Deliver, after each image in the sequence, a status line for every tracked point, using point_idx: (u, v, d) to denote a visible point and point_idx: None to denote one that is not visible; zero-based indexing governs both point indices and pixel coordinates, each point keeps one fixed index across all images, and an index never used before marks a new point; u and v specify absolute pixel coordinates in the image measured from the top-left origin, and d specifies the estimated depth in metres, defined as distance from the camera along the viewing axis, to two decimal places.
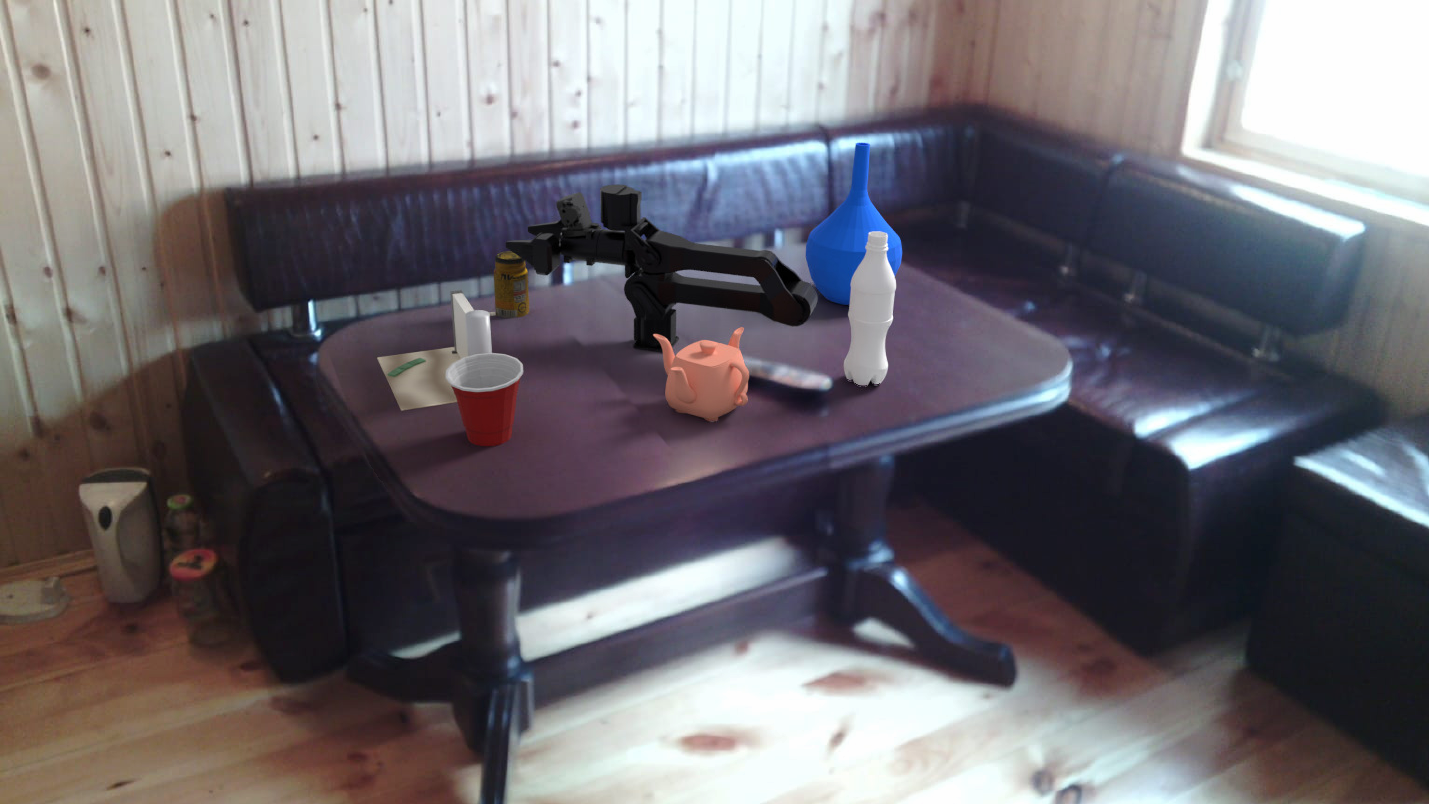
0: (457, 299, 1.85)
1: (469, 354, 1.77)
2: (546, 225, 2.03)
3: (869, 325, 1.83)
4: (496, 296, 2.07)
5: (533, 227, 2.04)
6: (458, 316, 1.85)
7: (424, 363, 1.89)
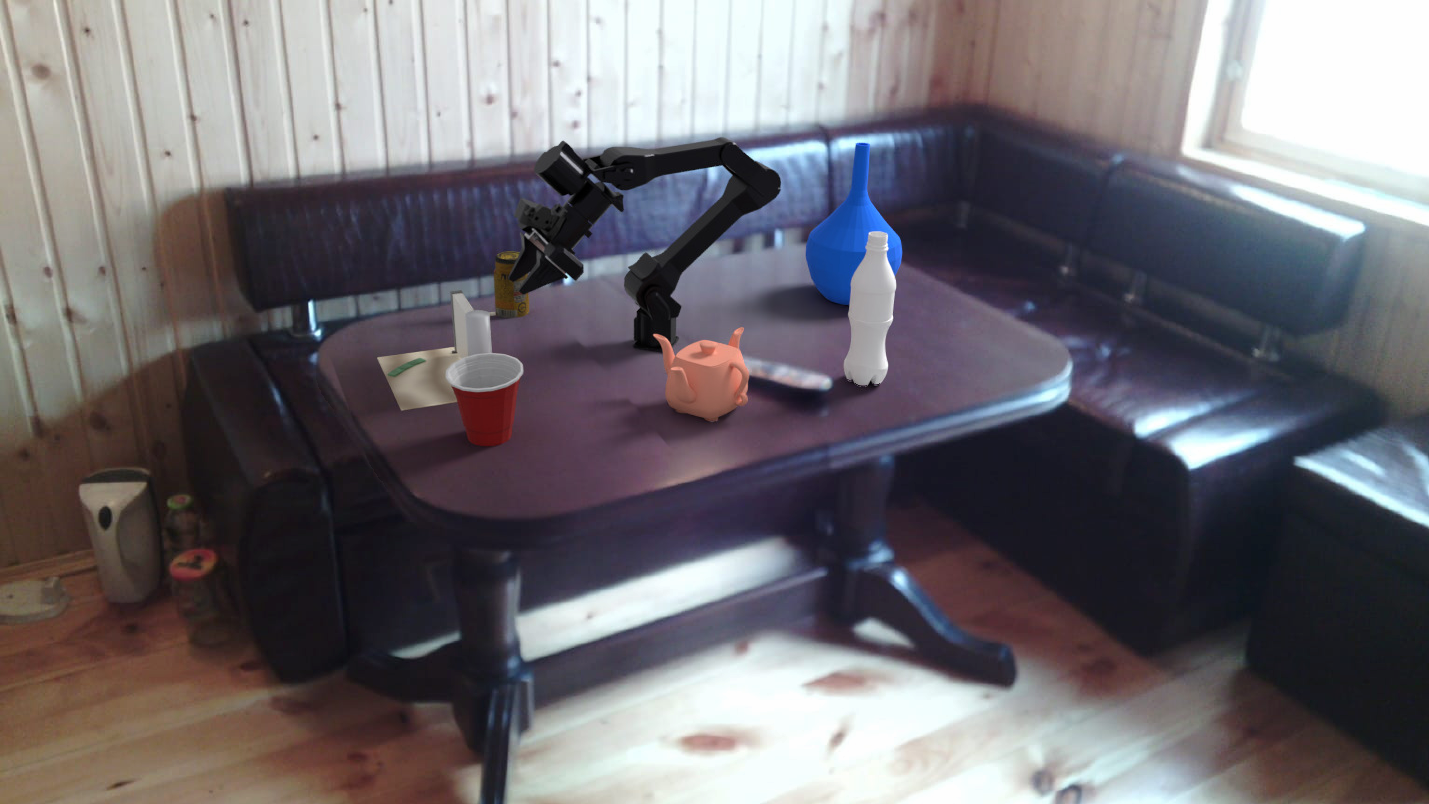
0: (457, 299, 1.85)
1: (469, 354, 1.77)
2: (520, 260, 1.89)
3: (869, 325, 1.83)
4: (496, 296, 2.07)
5: (512, 273, 1.89)
6: (458, 316, 1.85)
7: (424, 363, 1.89)
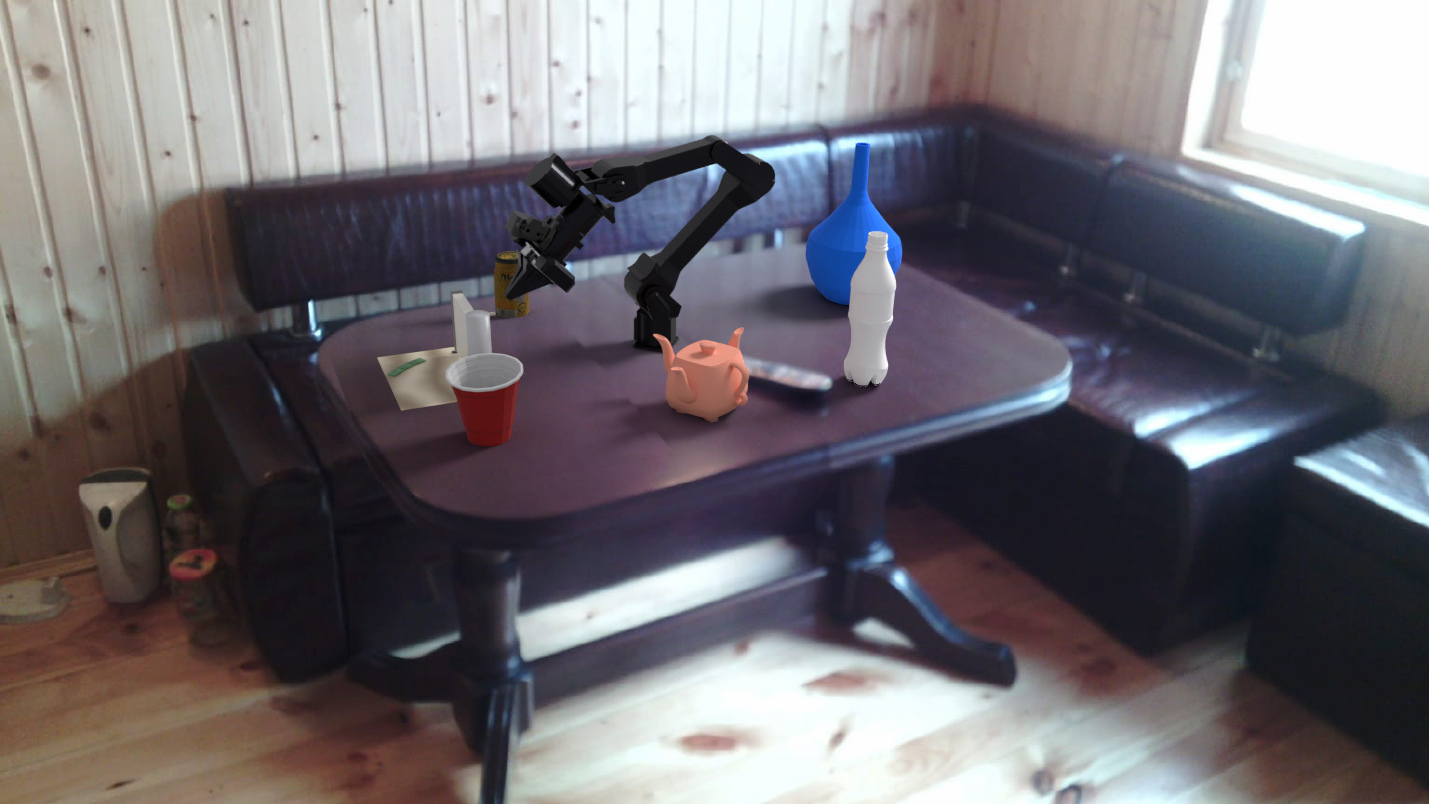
0: (457, 299, 1.85)
1: (469, 354, 1.77)
2: (516, 277, 1.87)
3: (869, 325, 1.83)
4: (496, 296, 2.07)
5: (508, 291, 1.87)
6: (458, 316, 1.85)
7: (424, 363, 1.89)
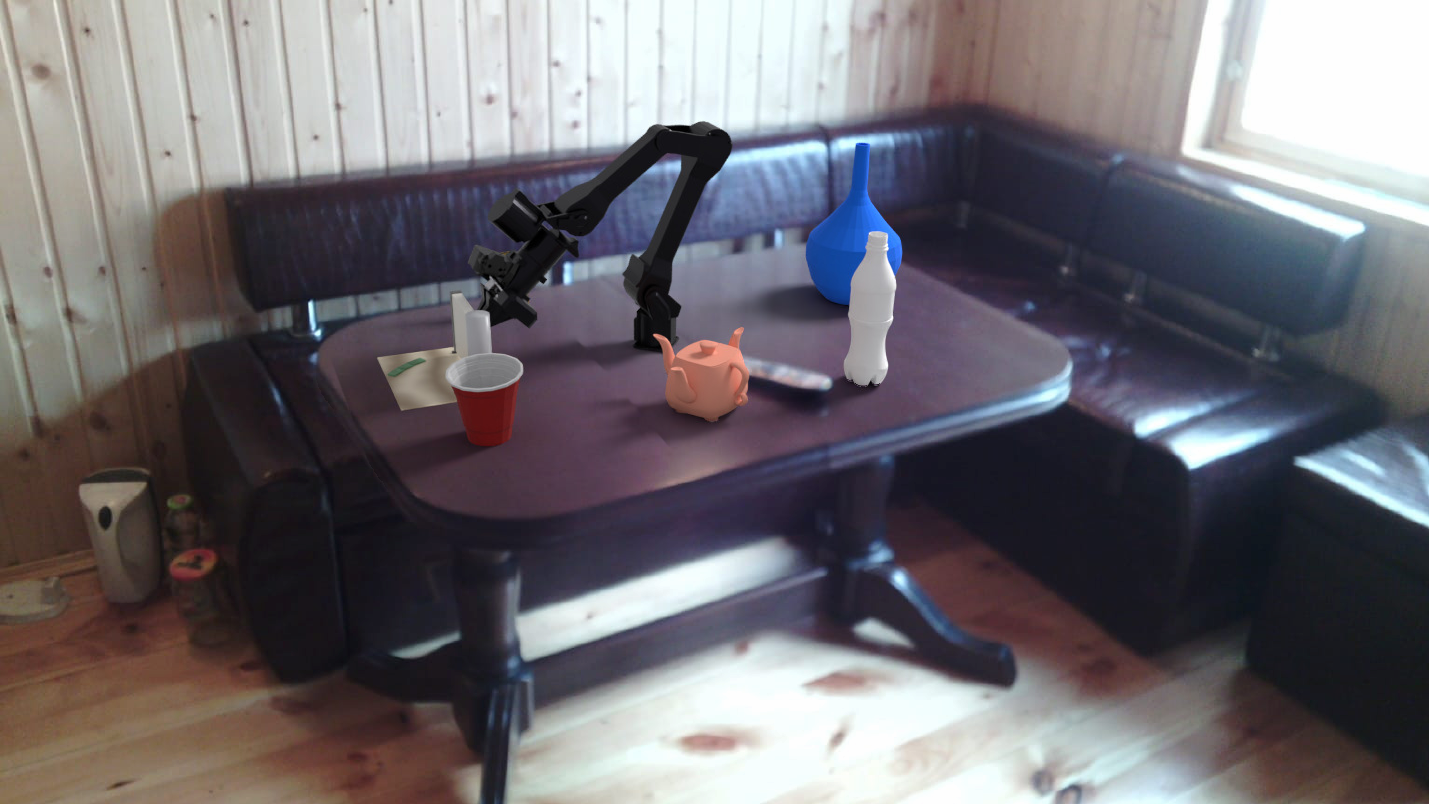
0: (456, 299, 1.85)
1: (469, 354, 1.77)
2: None
3: (869, 325, 1.83)
4: None
5: None
6: (457, 316, 1.85)
7: (424, 363, 1.89)
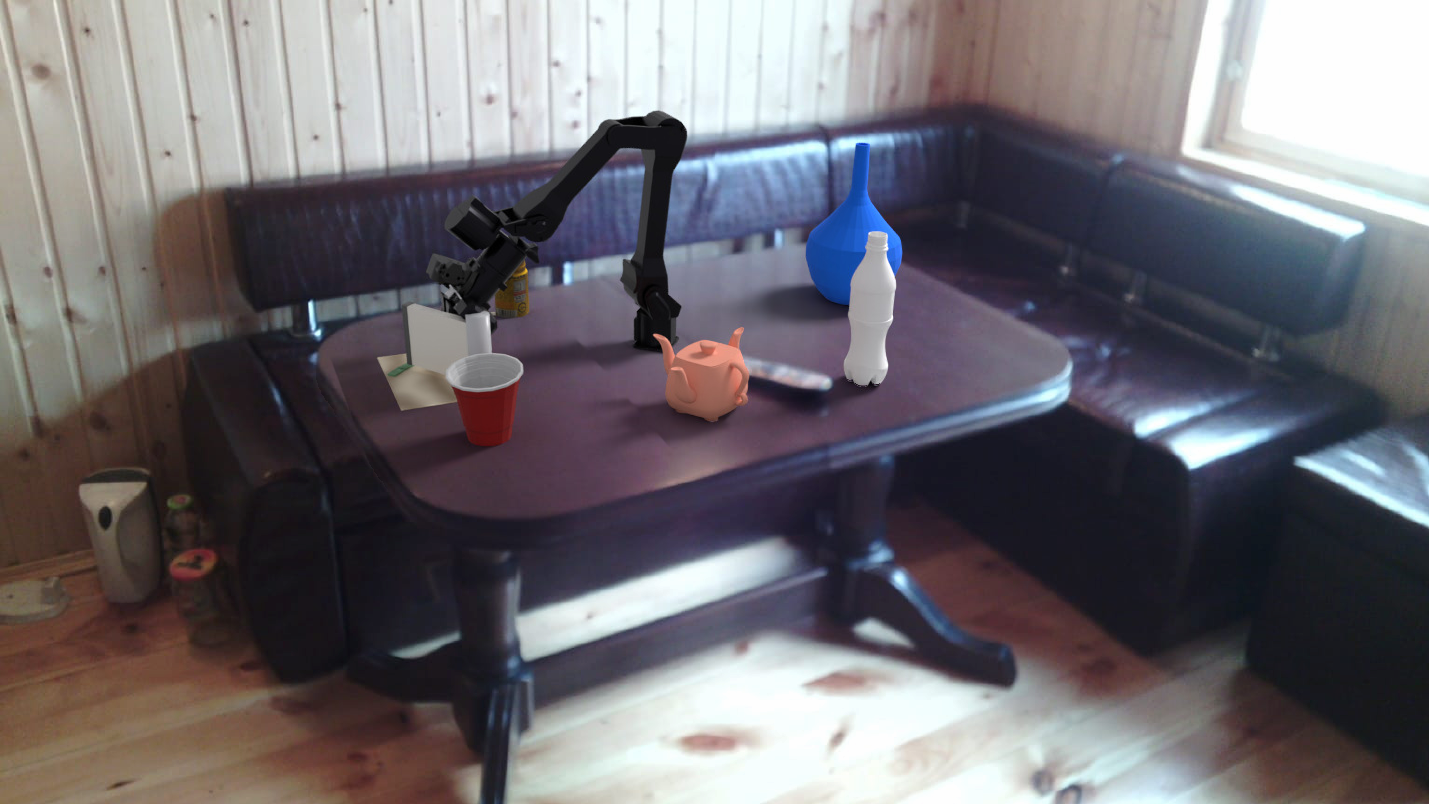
0: (420, 309, 1.81)
1: None
2: None
3: (869, 325, 1.83)
4: (496, 296, 2.07)
5: None
6: (425, 326, 1.81)
7: None
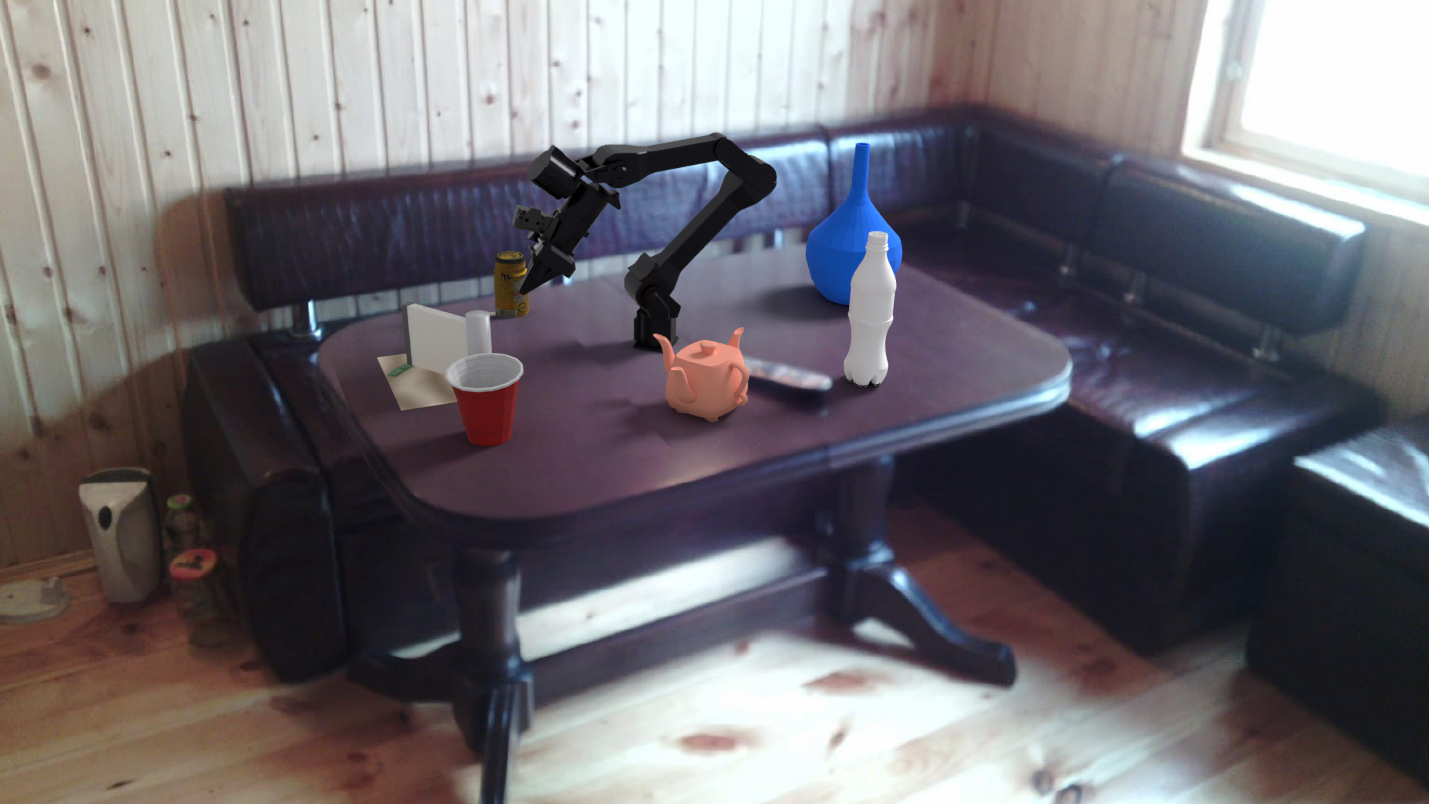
0: (420, 309, 1.81)
1: None
2: (528, 272, 1.88)
3: (869, 325, 1.83)
4: (496, 296, 2.07)
5: None
6: (425, 326, 1.81)
7: None
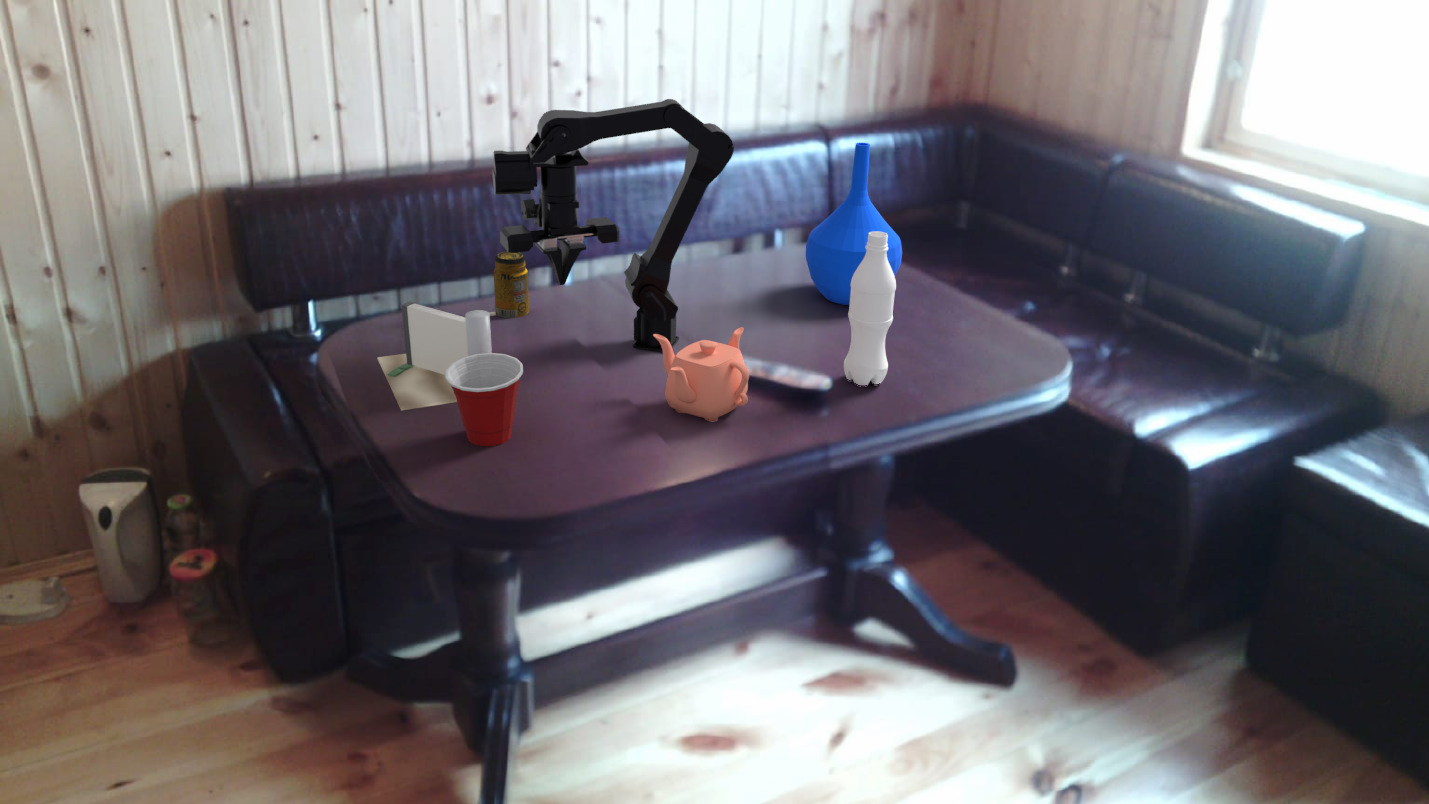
0: (420, 309, 1.81)
1: None
2: None
3: (869, 325, 1.83)
4: (496, 296, 2.07)
5: None
6: (425, 326, 1.81)
7: None
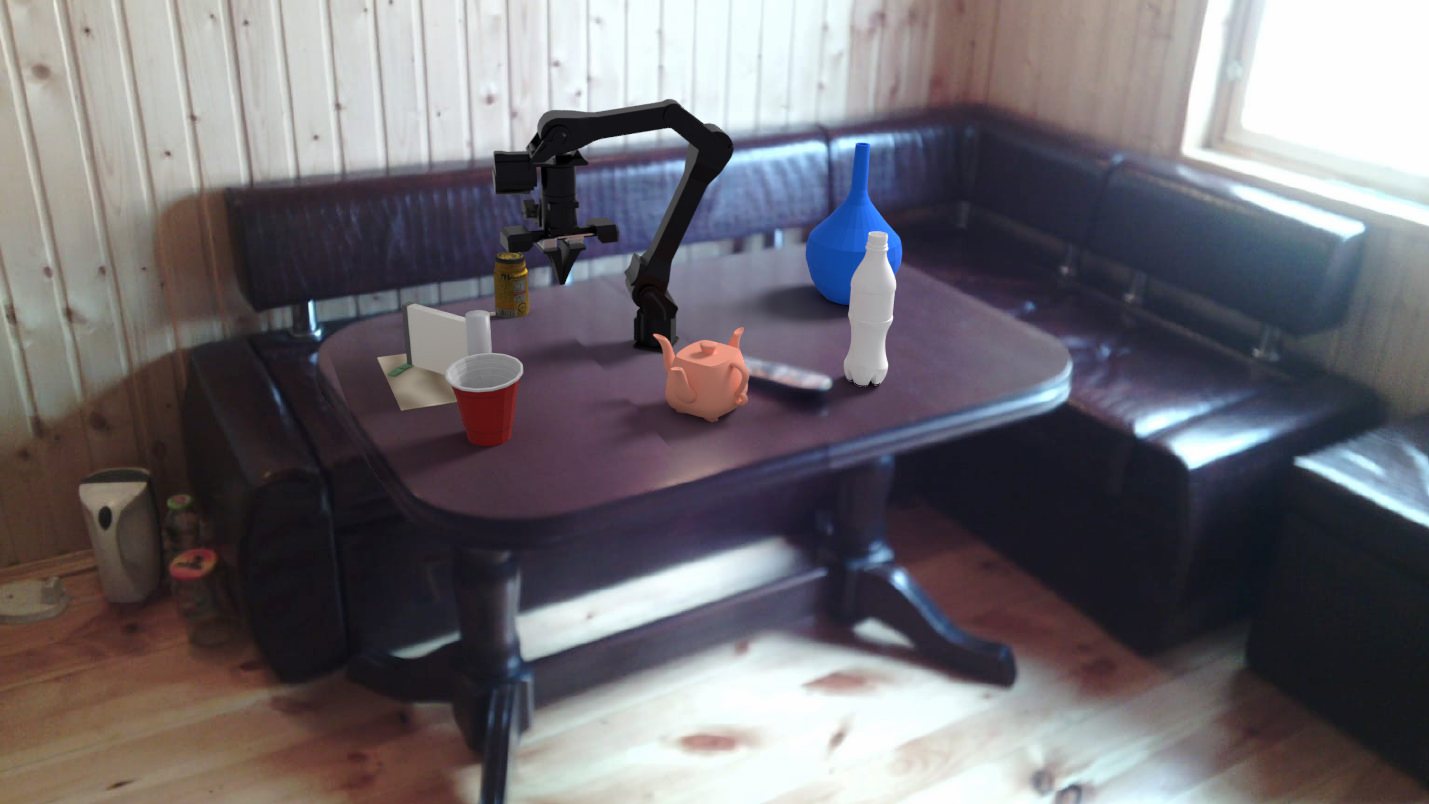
0: (420, 309, 1.81)
1: None
2: None
3: (869, 325, 1.83)
4: (496, 296, 2.07)
5: None
6: (425, 326, 1.81)
7: None
